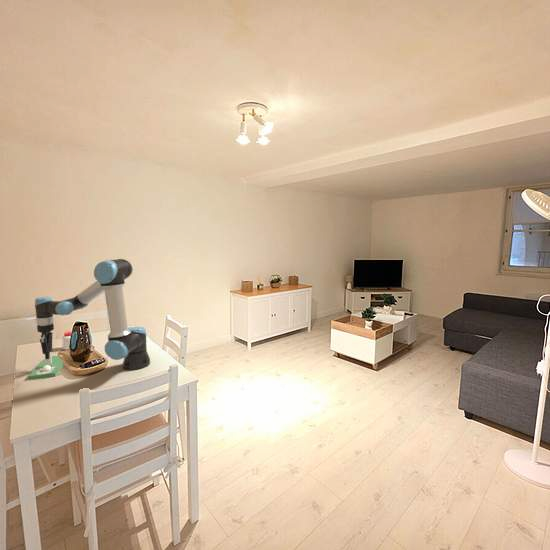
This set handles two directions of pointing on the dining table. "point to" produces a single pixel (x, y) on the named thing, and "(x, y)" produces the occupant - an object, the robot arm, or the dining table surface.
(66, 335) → the pill bottle
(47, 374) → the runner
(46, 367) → the ball
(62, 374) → the dining table surface
